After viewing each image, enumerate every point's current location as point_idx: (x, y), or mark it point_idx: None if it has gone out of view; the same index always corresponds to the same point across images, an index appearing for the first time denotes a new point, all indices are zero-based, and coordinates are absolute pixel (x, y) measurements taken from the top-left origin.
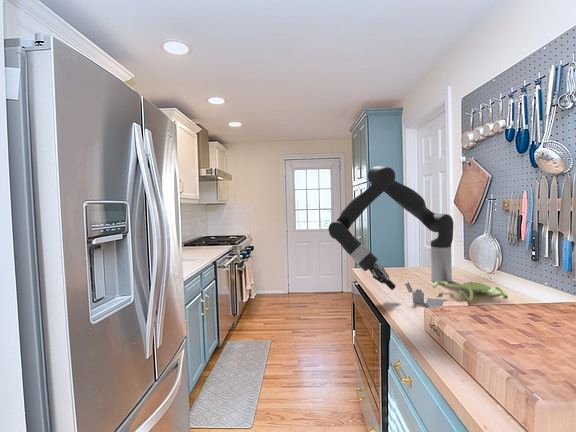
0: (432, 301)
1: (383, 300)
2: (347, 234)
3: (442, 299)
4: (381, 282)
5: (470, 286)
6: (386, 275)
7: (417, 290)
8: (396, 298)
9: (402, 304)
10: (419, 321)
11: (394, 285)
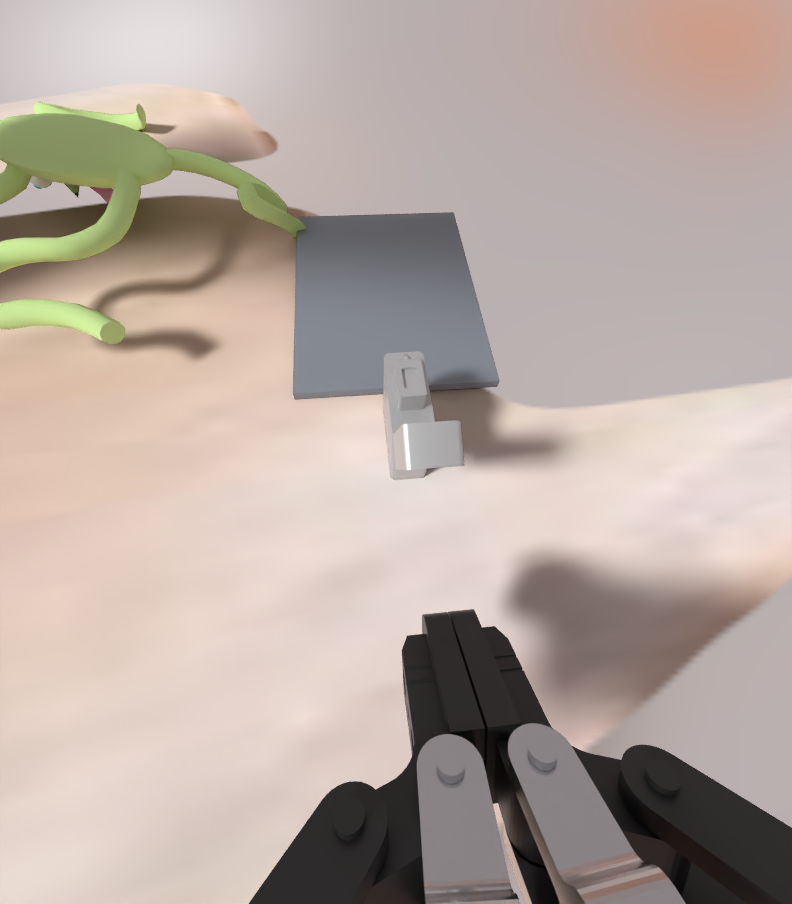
0: (373, 357)
1: None
2: None
3: (299, 314)
4: (691, 868)
5: (153, 142)
6: (441, 862)
7: (424, 384)
8: (365, 636)
9: (522, 539)
10: (775, 382)
11: (469, 621)
